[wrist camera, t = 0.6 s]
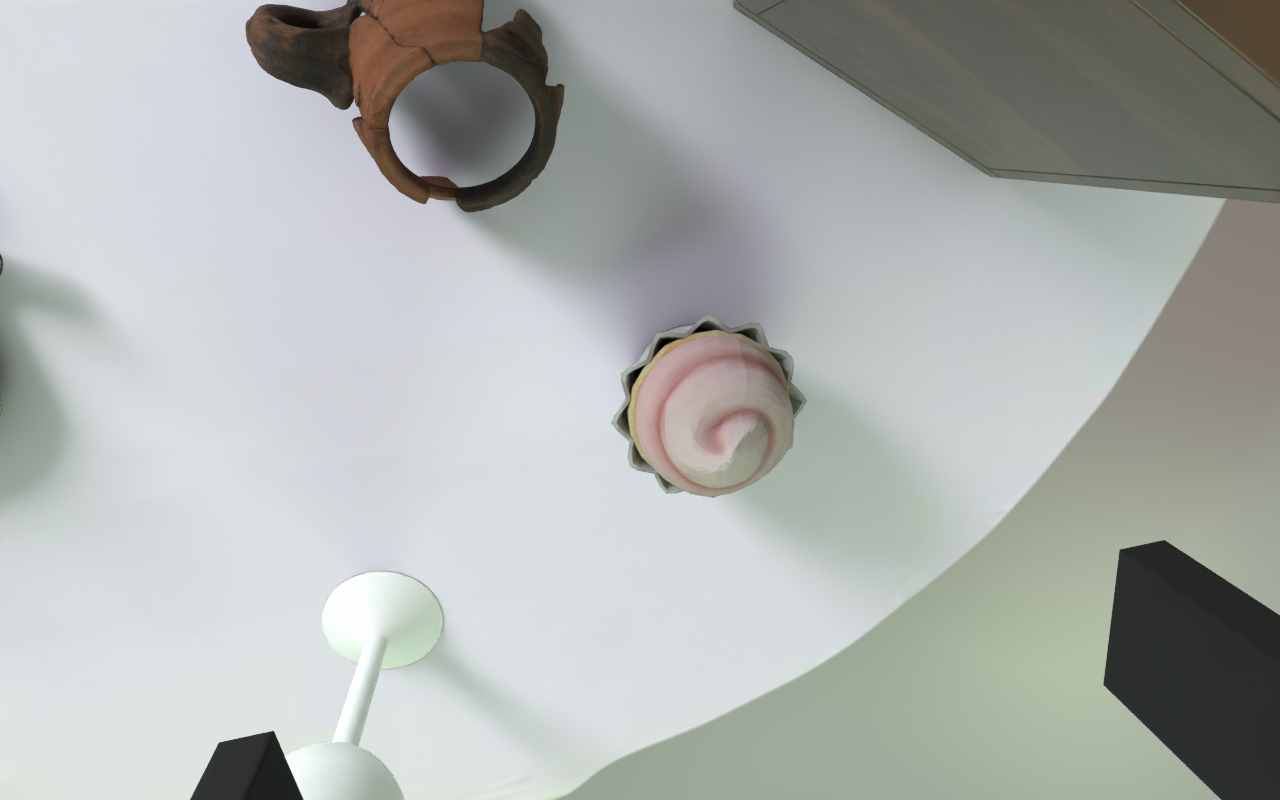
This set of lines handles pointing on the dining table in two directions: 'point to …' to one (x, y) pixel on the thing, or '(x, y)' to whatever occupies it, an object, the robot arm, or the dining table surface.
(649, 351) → the cupcake
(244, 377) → the dining table surface
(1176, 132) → the cupboard
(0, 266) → the plate of green donuts
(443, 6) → the pottery mug
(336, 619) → the champagne flute
